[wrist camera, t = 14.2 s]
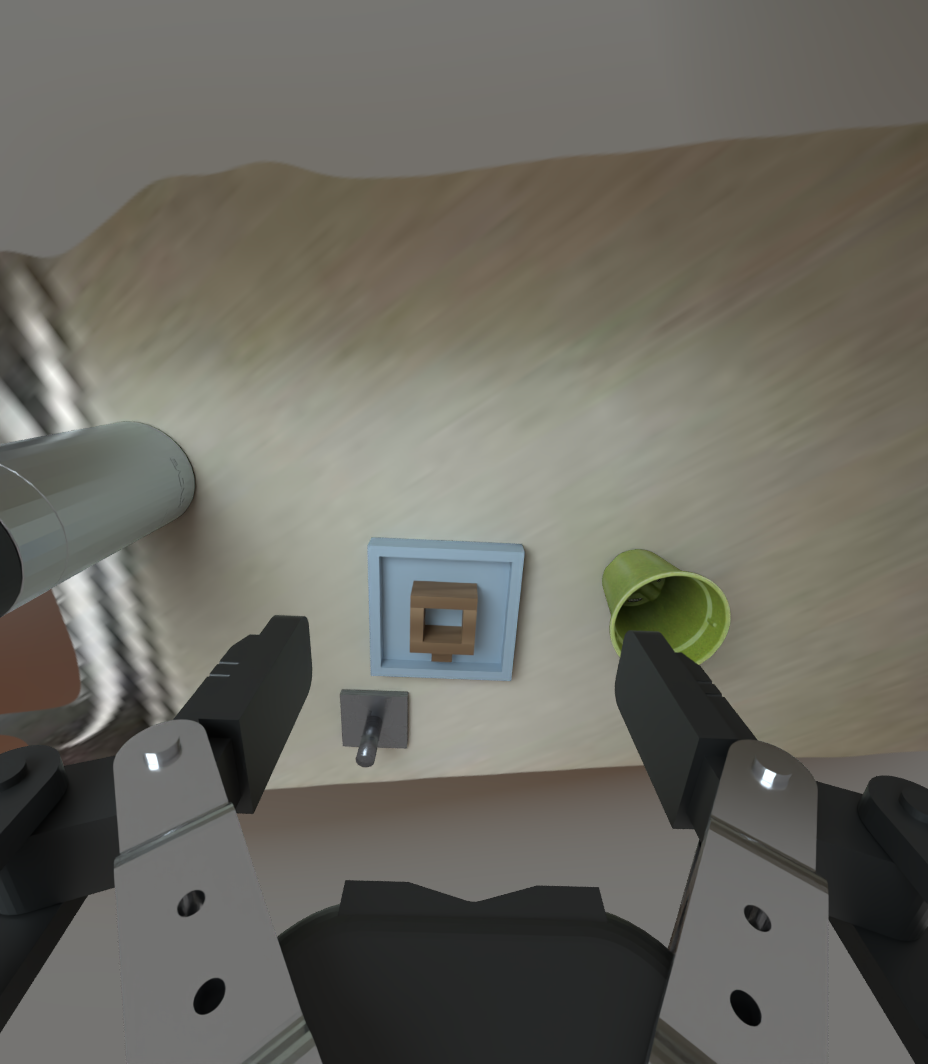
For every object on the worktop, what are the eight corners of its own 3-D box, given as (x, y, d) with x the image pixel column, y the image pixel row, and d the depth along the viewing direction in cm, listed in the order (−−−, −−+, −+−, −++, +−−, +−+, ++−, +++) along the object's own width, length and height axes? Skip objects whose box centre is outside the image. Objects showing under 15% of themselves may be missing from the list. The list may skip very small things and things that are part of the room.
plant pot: (587, 626, 46) (614, 683, 38) (580, 540, 43) (607, 582, 35) (681, 612, 46) (728, 667, 38) (681, 524, 43) (733, 563, 35)
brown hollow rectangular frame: (413, 580, 44) (410, 595, 41) (476, 583, 44) (477, 598, 41) (412, 651, 47) (409, 670, 44) (471, 654, 47) (472, 672, 44)
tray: (374, 663, 48) (370, 675, 46) (371, 537, 43) (367, 545, 41) (509, 668, 48) (511, 680, 46) (521, 544, 43) (524, 552, 41)
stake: (344, 740, 51) (330, 785, 46) (341, 689, 49) (326, 730, 44) (407, 742, 52) (401, 787, 46) (407, 691, 49) (401, 733, 44)
